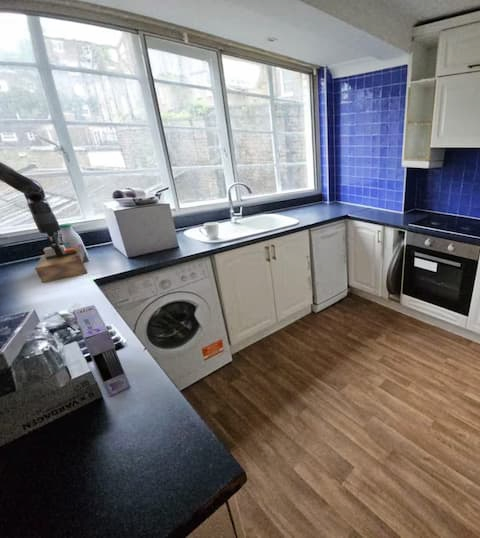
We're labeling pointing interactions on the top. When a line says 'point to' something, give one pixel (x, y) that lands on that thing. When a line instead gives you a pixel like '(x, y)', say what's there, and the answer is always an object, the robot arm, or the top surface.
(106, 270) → the top surface
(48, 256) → the white bottle red cap
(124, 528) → the top surface
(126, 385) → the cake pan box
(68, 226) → the milk bottle
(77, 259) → the tan box with lid
